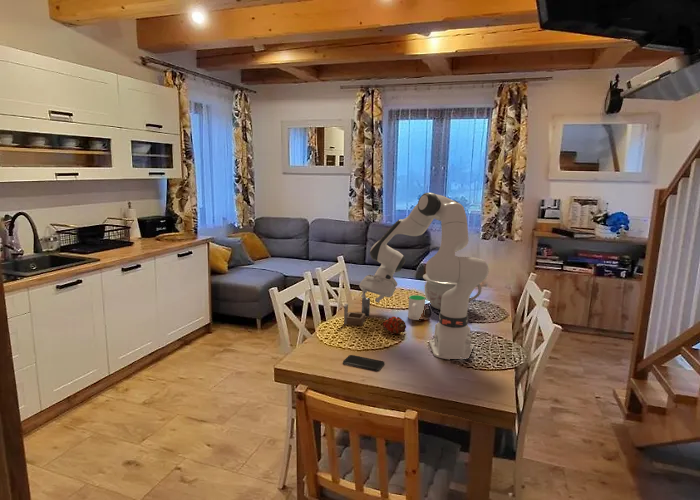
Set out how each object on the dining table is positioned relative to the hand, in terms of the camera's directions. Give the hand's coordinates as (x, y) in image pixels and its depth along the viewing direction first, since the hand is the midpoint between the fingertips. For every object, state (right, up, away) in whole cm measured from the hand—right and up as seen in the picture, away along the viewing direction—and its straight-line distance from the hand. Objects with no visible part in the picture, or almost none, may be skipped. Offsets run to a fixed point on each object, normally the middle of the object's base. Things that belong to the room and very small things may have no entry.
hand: (369, 299), depth 231 cm
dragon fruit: (+10, -13, -23) cm, 29 cm away
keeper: (-8, -10, -11) cm, 17 cm away
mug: (+23, -9, -3) cm, 25 cm away
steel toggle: (-2, -8, -1) cm, 8 cm away
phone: (-5, -19, -55) cm, 59 cm away
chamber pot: (+43, -6, +16) cm, 46 cm away
